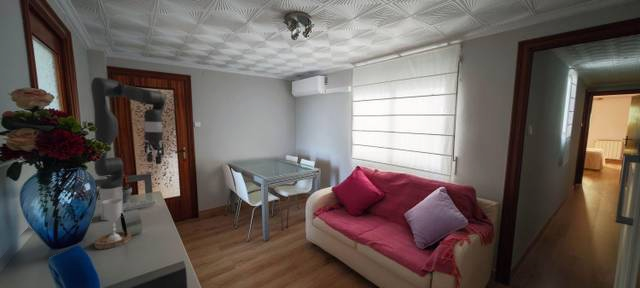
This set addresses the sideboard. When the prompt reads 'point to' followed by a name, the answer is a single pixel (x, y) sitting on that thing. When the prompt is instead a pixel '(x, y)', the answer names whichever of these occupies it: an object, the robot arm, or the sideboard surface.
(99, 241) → the tan segmented-rim dish
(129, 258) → the sideboard surface
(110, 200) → the chalice
